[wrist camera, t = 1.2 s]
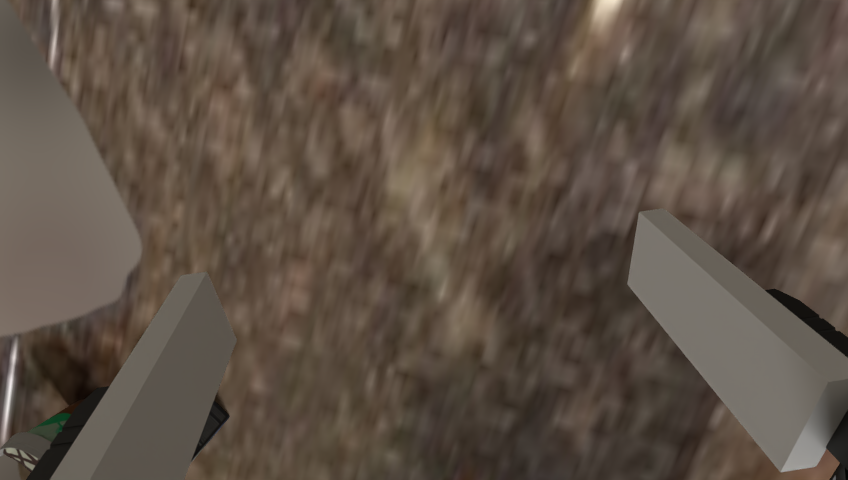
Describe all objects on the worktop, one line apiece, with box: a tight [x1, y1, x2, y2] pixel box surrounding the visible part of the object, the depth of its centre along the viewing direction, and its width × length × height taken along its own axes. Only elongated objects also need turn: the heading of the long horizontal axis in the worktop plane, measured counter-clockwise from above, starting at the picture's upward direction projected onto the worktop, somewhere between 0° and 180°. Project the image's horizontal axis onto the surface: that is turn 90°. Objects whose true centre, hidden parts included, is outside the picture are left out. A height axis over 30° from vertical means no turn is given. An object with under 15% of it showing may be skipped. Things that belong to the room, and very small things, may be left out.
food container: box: [0, 399, 85, 472], centre depth 63 cm, size 12×6×10 cm, turn 64°
